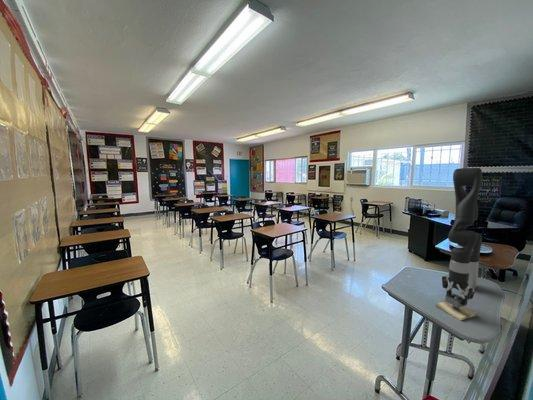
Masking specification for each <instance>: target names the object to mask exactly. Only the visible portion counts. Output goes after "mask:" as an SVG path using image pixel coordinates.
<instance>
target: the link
mask: <svg viewBox="0 0 533 400" xmlns="http://www.w3.org/2000/svg"><path fill="white" fill-rule="evenodd" d="M454 296H457V297H459V300H456V299H454ZM461 300H462V295H461V296H460V295H459V294H456V293H452V294H450V295H446V294H445V299H444V301H446V302H448V303H450V304H452V305H454V306H455V307H457V308H459V307H463V305H461V302H462V301H461ZM466 306H468V303H467V304H466V305H464V307H466Z"/></svg>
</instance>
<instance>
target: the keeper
mask: <svg viewBox="0 0 533 400" xmlns="http://www.w3.org/2000/svg"><path fill="white" fill-rule="evenodd" d="M454 299H456V300H459V297H457V296H454ZM435 307H436V308H438V309H440V310H442V311H443V312H445V313H446V314H449V316H452V317H454V318H455V319H458V320H460V321H463V320H466V319H470V318H473V317H477V316H478V312H476V311H474V310H472V309H470V308H468V307H466V306H463V307H459V308H457V307H455V306H454V305H452V304H450V303H448V302H446V301H445V300H444V301H442V302H437V303H435Z"/></svg>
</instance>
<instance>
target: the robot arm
mask: <svg viewBox="0 0 533 400" xmlns="http://www.w3.org/2000/svg"><path fill="white" fill-rule="evenodd" d="M452 181H453V188H454V197H455V217H454V222H453V224H452V227H451V229H450V230H449V232H448V234H447V239H448V240H449V242H450V243H452V244H456V245H458V246H459V247H453V248H452V249H451V253H450V261H449V266H448V276H447V275H444V276H441V282H442V288H444V289H445V292H446V294H445V296H446V295H450V294H453V291H452V290H453V289H456V290H457V291H458V292H459V294H460V295H461V297H462V300H461V301H462V302H461V305H463V306H464V305H466V304H467V305H468V300H472V299H473V298H474V296H475V294H476V293H475V292H476V289H477V288H478V287H477V286H478V277H479V266H480V264H479V263H480V256H481V255H480V254H481V249H482V243H483V237H482V235H481V233H477V232H475V231H473V230H466V229H467V227H471V226H473V225H474V222H475V221H476V220H477V218H478V216H479V206H478V203H477V202H478V199H479V195H480V190H481V187H482V182H483V170H482V169H481V167H462V168H456V169H454V171H453V173H452ZM464 187H471V189H470V191H469V192H468V193H467V192H466V190H465V188H464ZM467 305H466V306H467ZM464 307H465V306H464Z"/></svg>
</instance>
